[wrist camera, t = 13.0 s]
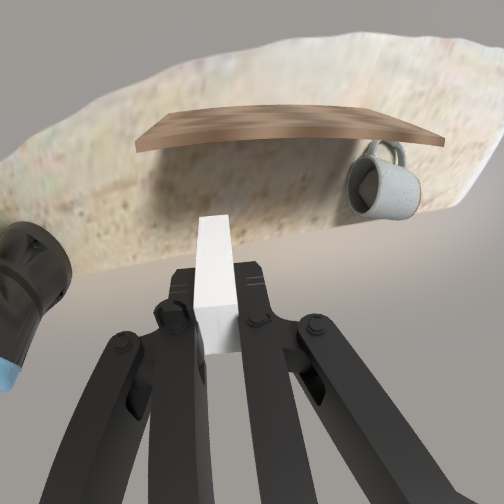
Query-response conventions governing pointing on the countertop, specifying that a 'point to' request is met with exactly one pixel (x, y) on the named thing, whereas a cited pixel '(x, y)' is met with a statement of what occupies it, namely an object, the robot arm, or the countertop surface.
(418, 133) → the wooden board
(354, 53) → the countertop surface
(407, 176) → the ceramic mug
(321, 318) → the robot arm
